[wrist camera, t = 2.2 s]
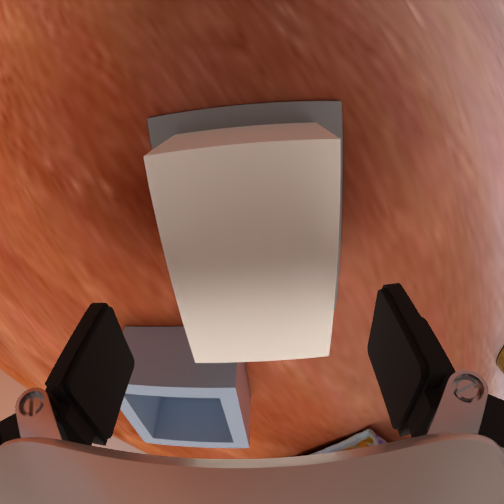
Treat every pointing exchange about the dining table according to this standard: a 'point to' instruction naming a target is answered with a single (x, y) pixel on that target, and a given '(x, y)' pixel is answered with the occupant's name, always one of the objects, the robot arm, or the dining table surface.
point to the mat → (251, 115)
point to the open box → (184, 393)
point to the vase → (501, 360)
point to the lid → (251, 237)
